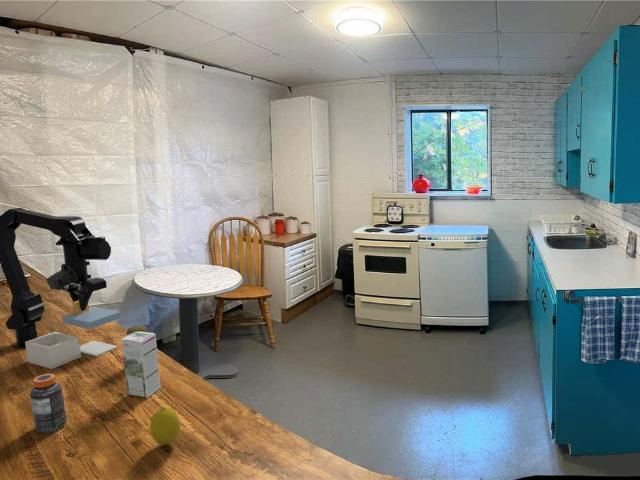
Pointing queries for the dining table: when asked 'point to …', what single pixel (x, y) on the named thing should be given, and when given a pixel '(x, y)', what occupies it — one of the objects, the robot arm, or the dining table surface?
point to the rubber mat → (96, 348)
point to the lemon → (165, 425)
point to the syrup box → (141, 364)
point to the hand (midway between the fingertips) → (81, 310)
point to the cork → (136, 329)
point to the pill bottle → (47, 404)
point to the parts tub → (53, 349)
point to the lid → (90, 316)
